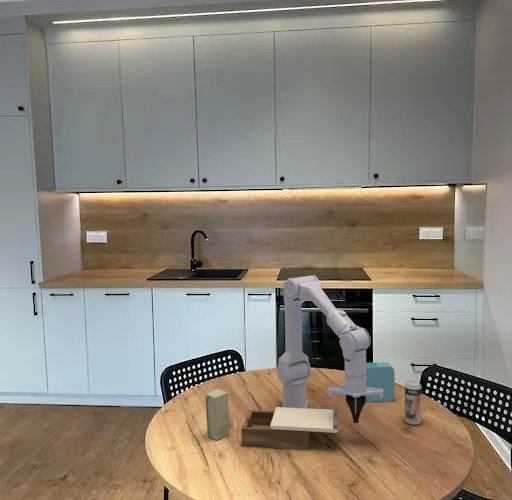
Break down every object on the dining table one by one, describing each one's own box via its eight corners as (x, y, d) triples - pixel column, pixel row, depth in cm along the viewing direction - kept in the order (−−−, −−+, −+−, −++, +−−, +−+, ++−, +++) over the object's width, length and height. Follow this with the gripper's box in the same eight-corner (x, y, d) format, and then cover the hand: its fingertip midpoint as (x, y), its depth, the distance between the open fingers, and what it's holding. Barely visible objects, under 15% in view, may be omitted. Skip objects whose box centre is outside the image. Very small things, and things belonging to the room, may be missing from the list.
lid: (276, 410, 142) (275, 403, 142) (337, 413, 139) (337, 405, 139) (270, 429, 130) (270, 421, 130) (337, 432, 127) (337, 424, 127)
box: (220, 430, 142) (218, 388, 141) (230, 435, 139) (228, 391, 138) (206, 436, 138) (204, 393, 137) (216, 441, 135) (214, 397, 134)
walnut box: (250, 426, 144) (249, 410, 144) (310, 429, 141) (310, 412, 141) (242, 446, 132) (241, 428, 132) (307, 450, 129) (307, 432, 129)
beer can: (401, 422, 144) (401, 383, 142) (409, 417, 147) (409, 379, 146) (417, 427, 140) (417, 387, 139) (424, 421, 144) (424, 382, 143)
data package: (390, 396, 163) (390, 361, 162) (394, 401, 159) (394, 366, 158) (355, 397, 163) (355, 362, 162) (358, 402, 159) (358, 367, 158)
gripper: (328, 377, 128) (328, 426, 130) (384, 379, 126) (384, 429, 127) (328, 368, 135) (329, 415, 137) (381, 370, 133) (381, 417, 134)
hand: (355, 421), depth 132 cm, fingers closed
